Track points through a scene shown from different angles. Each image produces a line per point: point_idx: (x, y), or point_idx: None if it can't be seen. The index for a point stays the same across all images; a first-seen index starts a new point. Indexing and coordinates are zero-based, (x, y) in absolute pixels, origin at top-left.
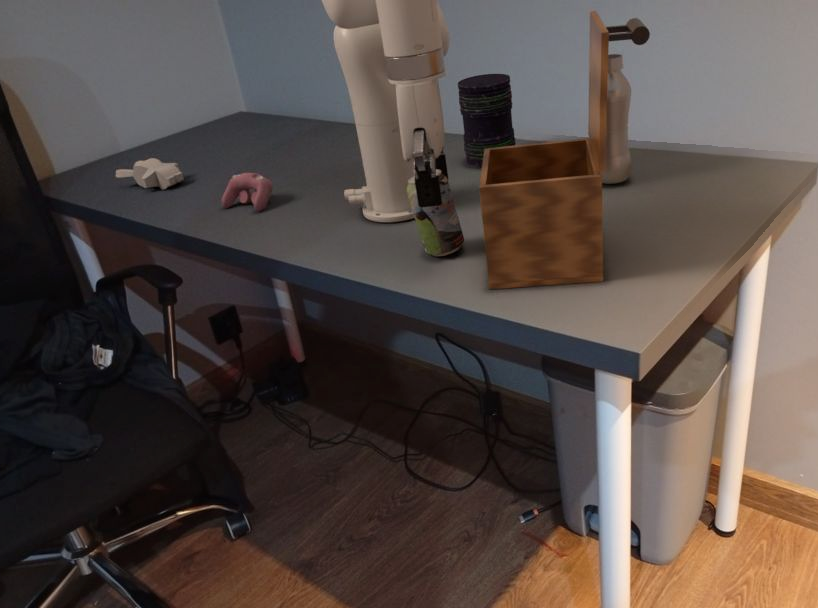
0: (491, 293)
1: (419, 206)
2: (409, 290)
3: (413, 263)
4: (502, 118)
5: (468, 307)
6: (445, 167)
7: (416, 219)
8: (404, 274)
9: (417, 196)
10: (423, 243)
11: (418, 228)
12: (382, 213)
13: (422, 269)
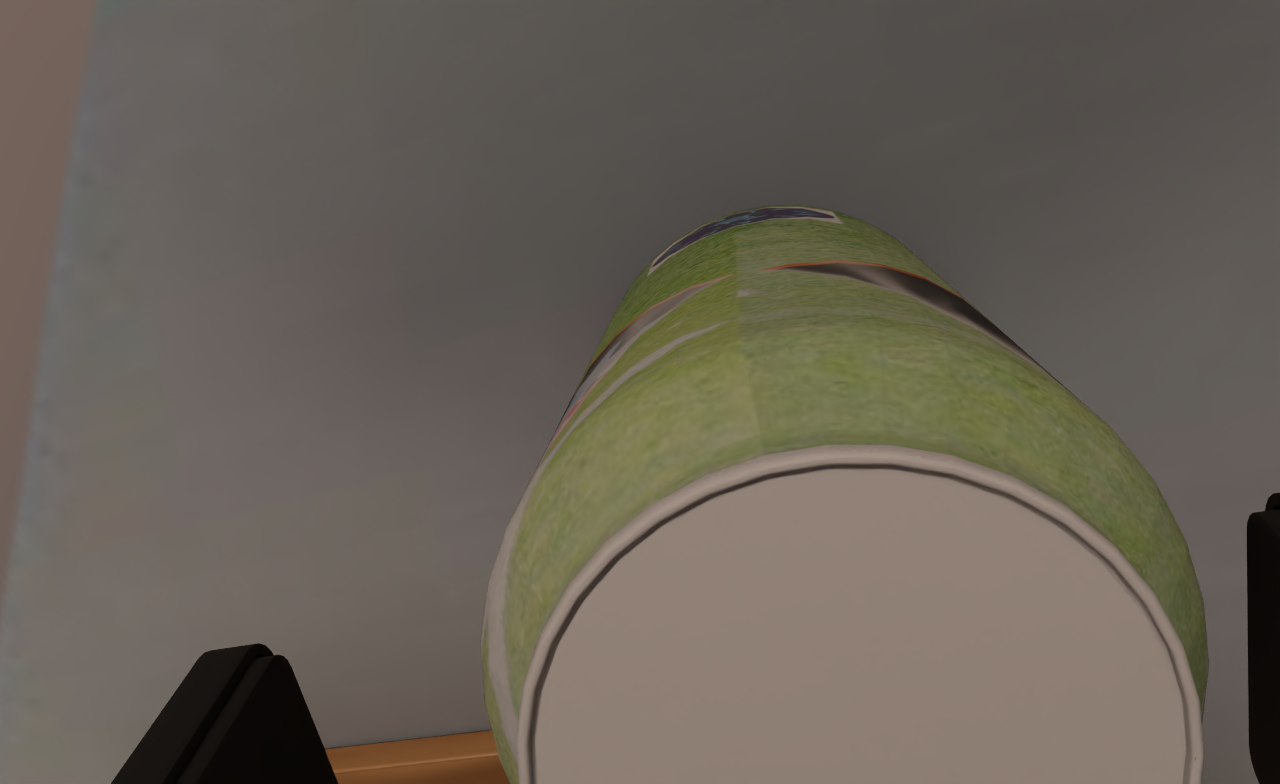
0: None
1: (217, 651)
2: (93, 268)
3: (547, 145)
4: None
5: (4, 686)
6: None
7: (631, 320)
8: (335, 134)
9: (146, 746)
10: (663, 260)
11: (663, 278)
12: None
13: (444, 262)
